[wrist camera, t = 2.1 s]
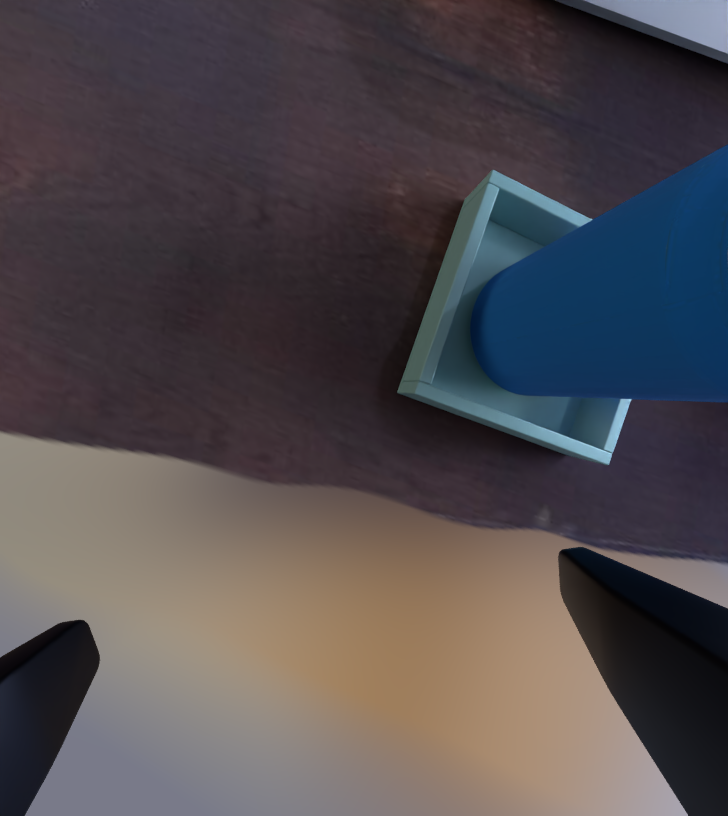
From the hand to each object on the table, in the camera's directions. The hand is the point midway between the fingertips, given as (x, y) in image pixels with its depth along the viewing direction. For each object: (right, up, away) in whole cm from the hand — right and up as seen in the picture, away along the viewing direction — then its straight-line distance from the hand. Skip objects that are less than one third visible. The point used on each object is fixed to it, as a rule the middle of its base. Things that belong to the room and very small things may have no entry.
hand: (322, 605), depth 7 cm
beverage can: (+9, +8, +13) cm, 17 cm away
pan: (+9, +8, +13) cm, 18 cm away
